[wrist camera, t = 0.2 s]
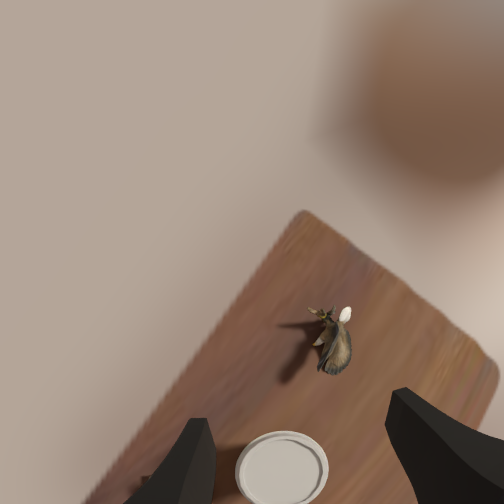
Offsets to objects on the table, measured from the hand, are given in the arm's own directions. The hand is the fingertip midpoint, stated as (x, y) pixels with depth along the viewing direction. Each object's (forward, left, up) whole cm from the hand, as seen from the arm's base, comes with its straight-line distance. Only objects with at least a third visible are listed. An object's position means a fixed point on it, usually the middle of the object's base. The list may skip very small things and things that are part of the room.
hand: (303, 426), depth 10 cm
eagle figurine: (+11, -9, -31) cm, 34 cm away
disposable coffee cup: (-6, -1, -31) cm, 32 cm away
